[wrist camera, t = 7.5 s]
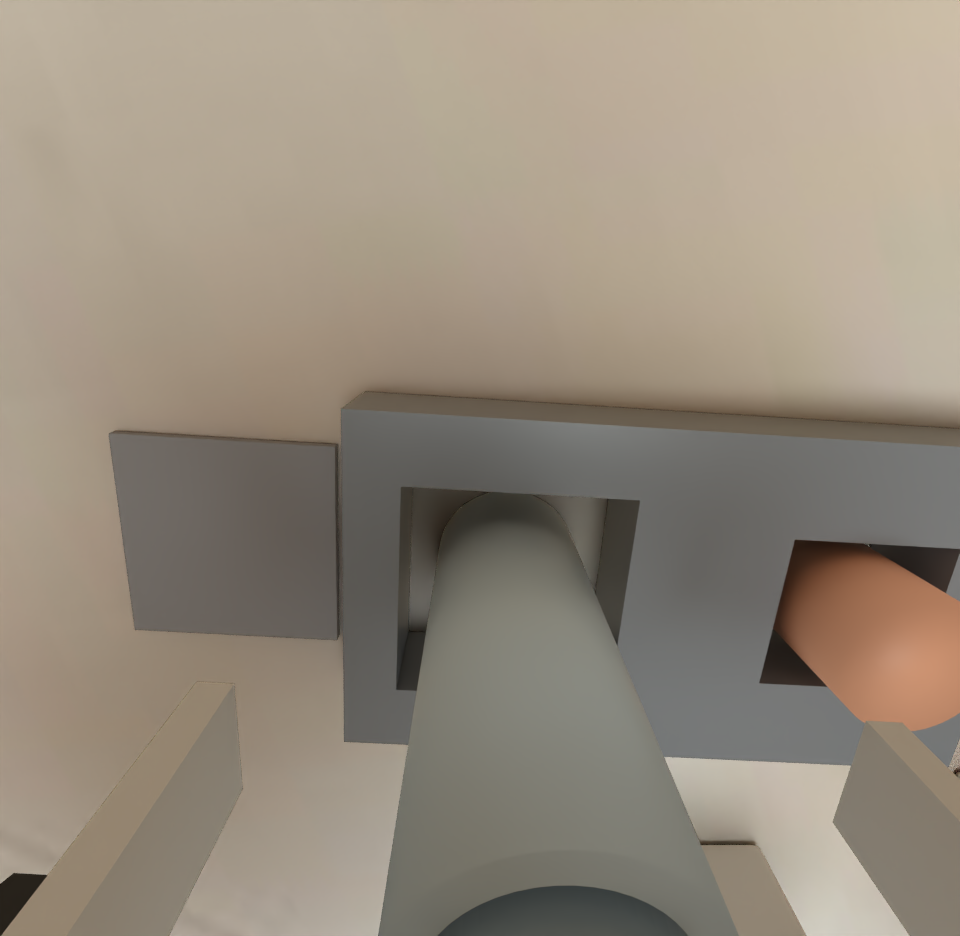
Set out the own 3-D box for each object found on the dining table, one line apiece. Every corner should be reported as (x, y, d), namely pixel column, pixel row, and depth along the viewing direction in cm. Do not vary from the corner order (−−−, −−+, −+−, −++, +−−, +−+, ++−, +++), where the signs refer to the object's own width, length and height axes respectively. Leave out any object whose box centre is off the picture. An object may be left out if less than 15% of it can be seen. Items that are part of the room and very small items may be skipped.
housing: (364, 677, 22) (344, 741, 19) (364, 391, 19) (340, 408, 16) (878, 702, 23) (947, 769, 20) (967, 429, 20) (1069, 453, 16)
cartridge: (436, 608, 22) (355, 1209, 7) (442, 486, 20) (354, 930, 6) (564, 615, 22) (739, 1219, 7) (579, 494, 20) (835, 948, 6)
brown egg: (736, 624, 21) (823, 728, 16) (760, 520, 20) (862, 596, 15) (846, 630, 21) (968, 735, 16) (876, 527, 20) (1019, 604, 15)
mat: (140, 624, 22) (134, 629, 21) (115, 431, 19) (108, 433, 19) (339, 634, 22) (337, 640, 21) (337, 444, 20) (334, 446, 19)
